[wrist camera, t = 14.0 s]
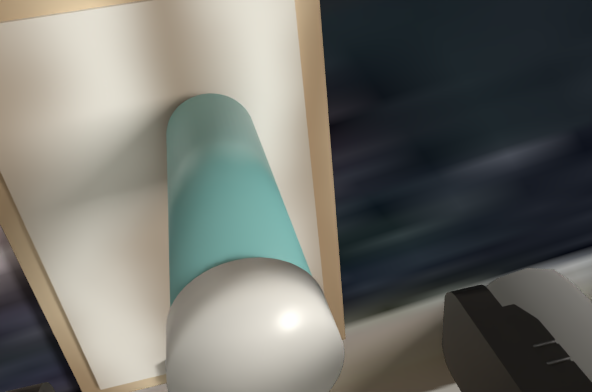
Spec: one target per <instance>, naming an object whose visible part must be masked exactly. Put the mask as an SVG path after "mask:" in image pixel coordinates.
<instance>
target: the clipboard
mask: <svg viewBox="0 0 592 392" xmlns="http://www.w3.org/2000/svg"><path fill="white" fill-rule="evenodd" d="M208 93H213V94H221V95H225V96H228V97H230V98H232V99H234V100H236V101H237V102H239V103H240V104H241V105H242V106H243V107H244V108H245V109H246V110H247V112H248V113H249V115H250V116H251V119H252V121H253V124H254V126H255V129H256V132H257V134H258V137H259V139H260V142H261V145H262V147H263V150H264V152H265V155H266V158H267V160H268V163H269V165H270V168H271V171H272V173H273V176H274V178H275V181H276V184H277V186H278V189H279V191H280V194H281V197H282V199H283V202H284V204H285V207H286V210H287V212H288V215H289V217H290V220H291V223H292V225H293V228H294V230H295V233H296V236H297V238H298V241H299V243H300V246H301V248H302V251H303V254H304V256H305V259H306V261H307V264H308V267H309V269H310V272H311V274H312V277H313V278H314V279H315V280H316V281H317V282H318V284H319V285H320V287H321V289H322V291H323V293H324V296H325V298H326V301H327V303H328V306H329V308H330V311H331V313H332V316H333V318H334V321H335V323H336V326H337V328H338V331H339V333H340V336H341V339H342V340H344V339H345V326H344V313H343V300H342V287H341V274H340V261H339V248H338V235H337V222H336V209H335V196H334V183H333V170H332V157H331V144H330V131H329V118H328V105H327V92H326V80H325V67H324V54H323V41H322V28H321V15H320V2H319V0H0V225H1V227H2V229H3V231H4V233H5V235H6V237H7V239H8V241H9V243H10V245H11V247H12V249H13V251H14V254H15V256H16V258H17V260H18V262H19V264H20V266H21V268H22V270H23V272H24V274H25V276H26V278H27V280H28V282H29V284H30V286H31V288H32V290H33V292H34V294H35V296H36V298H37V300H38V303H39V305H40V307H41V309H42V311H43V313H44V315H45V317H46V319H47V321H48V323H49V325H50V327H51V329H52V331H53V333H54V335H55V337H56V339H57V341H58V343H59V345H60V347H61V350H62V352H63V354H64V356H65V358H66V360H67V362H68V364H69V366H70V368H71V370H72V372H73V374H74V376H75V378H76V380H77V382H78V384H79V386H80V388H81V390H82V392H132V391H136V390H140V389H144V388H148V387H152V386H156V385H161V384H165V383H167V379H166V321H167V316H168V313H169V310H170V277H169V232H168V188H167V144H166V131H167V125H168V122H169V119H170V117H171V115H172V114H173V112H174V111H175V110H176V108H177V107H178V106H179V105H180V104H182V103H183V102H184V101H186V100H188V99H190V98H192V97H194V96H197V95H201V94H208Z"/></svg>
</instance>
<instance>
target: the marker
mask: <svg viewBox="0 0 592 392" xmlns="http://www.w3.org/2000/svg"><path fill="white" fill-rule="evenodd" d="M166 144H167V188H168V232H169V277H170V310H169V313H168V316H167V321H166V379H167V389H168V392H329V391H330V389H331V388H332V387H333V385H334V384H335V382H336V381H337V379H338V377H339V375H340V372H341V370H342V367H343V362H344V345H343V341H342V339H341V336H340V333H339V331H338V328H337V326H336V323H335V321H334V318H333V316H332V313H331V311H330V308H329V306H328V303H327V301H326V298H325V296H324V293H323V291H322V289H321V287H320V285H319V284H318V282H317V281H316V280H315V279H314V278H313V277H312V274H311V272H310V269H309V267H308V264H307V261H306V259H305V256H304V254H303V251H302V248H301V246H300V243H299V241H298V238H297V236H296V233H295V230H294V228H293V225H292V223H291V220H290V217H289V215H288V212H287V210H286V207H285V204H284V202H283V199H282V197H281V194H280V191H279V189H278V186H277V184H276V181H275V178H274V176H273V173H272V171H271V168H270V165H269V163H268V160H267V158H266V155H265V152H264V150H263V147H262V145H261V142H260V139H259V137H258V134H257V132H256V129H255V126H254V124H253V121H252V119H251V116H250V115H249V113H248V112H247V110H246V109H245V108H244V107H243V106H242V105H241V104H240V103H239V102H237V101H236V100H234V99H232V98H230V97H228V96H225V95H221V94H213V93H208V94H201V95H197V96H194V97H192V98H190V99H188V100H186V101H184V102H183V103H182V104H180V105H179V106H178V107H177V108H176V110H175V111H174V112H173V114H172V115H171V117H170V119H169V122H168V125H167V131H166Z"/></svg>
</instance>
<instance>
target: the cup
mask: <svg viewBox="0 0 592 392" xmlns="http://www.w3.org/2000/svg"><path fill="white" fill-rule="evenodd" d="M486 287H487V288H488V289H489V290H490V292H491V293H492V294H493V295H494V297H495V298H496V299H497V301H498V302H499V303H500V304H501V306H502V307H503V306H507V305H511V304H515V305H517V306H518V307H520V308H522V309H523V310H525V311H526V312H528V313H529V314H531V315H533V316H534V317H536V318H537V319H539V321H540V322H541V323H542V324H543V325H544V326H545V328H546V329H547V330H548V331H549V332H550V334H551V335H552V336H553V337H554V338H555V341H556V343H557V344H560V345H561V347H562V348H563V349H564V350H565V351H566V352H567V354H568V355H569V356H570V360H571V361H574V362H575V363H576V364H577V365H578V367H579V368H580V369H581V370H582V371H583V372H584V374H585V375H586V376H587V377H588V378H589V380H590V381H591V382H592V302H591V301H590V300H589V299H588V298H587V297H586V296H585V295H584V294H583V293H582V292H581V291H580V290H579V289H578V288H577V287H576V286H575V285H574V284H573V283H572V282H571V281H570V280H568V279H567V278H565V277H564V276H562V275H561V274H560V273H558V272H557V271H555V270H554V269H537V268H526V269H523V270H520V271H517V272H514V273H511V274H509V275H506V276H503V277H500V278H497V279H496V280H495V281H493V282H492V283H490V284H489V285H488V286H486Z"/></svg>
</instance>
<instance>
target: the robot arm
mask: <svg viewBox="0 0 592 392" xmlns="http://www.w3.org/2000/svg"><path fill="white" fill-rule="evenodd" d="M442 347H443V353H444V357H445V361H446V364H447V366H448V369H449V371H450V373H451V375H452V376H453V378H454V380H455V382H456V383H457V385H458V387H459V388H460V390H461V392H592V382H591V381H590V380H589V378H588V377H587V376H586V375H585V374H584V372H583V371H582V370H581V369H580V368H579V367H578V365H577V364H576V363H575V362H574V361H571V360H570V356H569V355H568V354H567V352H566V351H565V350H564V349H563V348H562V347H561V345H560V344H557V343H556V341H555V338H554V337H553V336H552V335H551V334H550V332H549V331H548V330H547V329H546V328H545V326H544V325H543V324H542V323H541V322H540V321H539V319H537V318H536V317H534V316H533V315H531V314H529V313H528V312H526V311H525V310H523V309H522V308H520V307H518V306H517V305H515V304H511V305H507V306H503V307H502V306H501V304H500V303H499V302H498V301H497V299H496V298H495V297H494V295H493V294H492V293H491V292H490V290H489V289H488V288H487V287H486V286H484V285H478V286H473V287H469V288H465V289H460V290H456V291H451V292H448V293H446V295H445V302H444V320H443V338H442ZM6 392H55V391H54V389H53V387H52V386H51V384H49V383H47V382H45V383H41V384H37V385H32V386H28V387H23V388H19V389H15V390H10V391H6Z"/></svg>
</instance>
